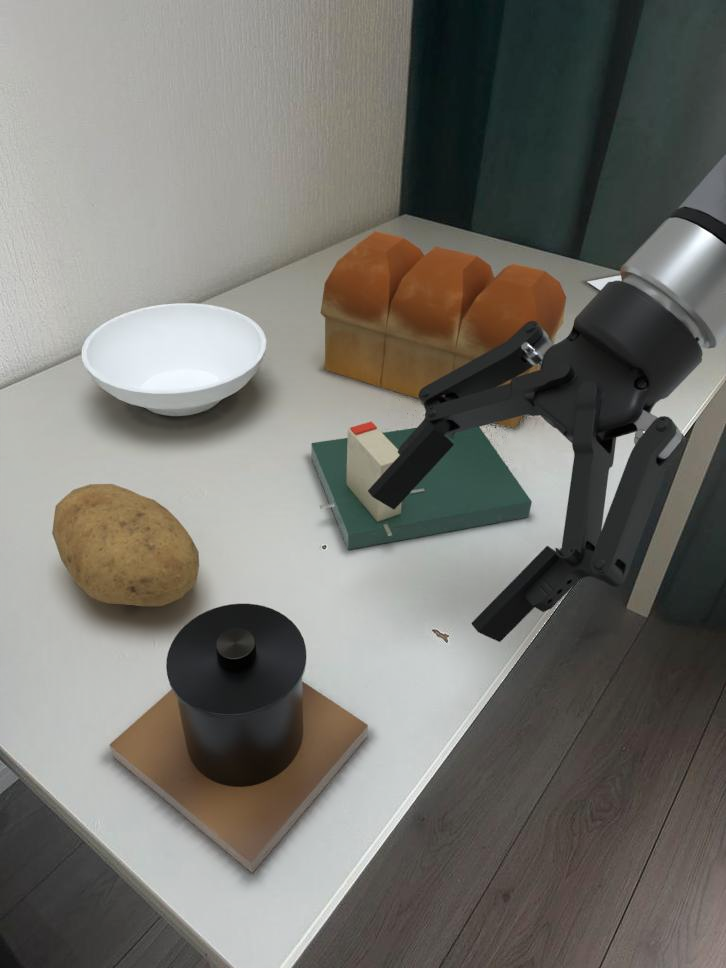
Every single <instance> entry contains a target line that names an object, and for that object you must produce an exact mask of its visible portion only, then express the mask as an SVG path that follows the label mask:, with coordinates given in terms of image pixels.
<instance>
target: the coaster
mask: <svg viewBox="0 0 726 968" xmlns="http://www.w3.org/2000/svg"><path fill="white" fill-rule="evenodd" d="M616 280H617V281H622V279H621V274H620V275H614V276H609V277H603V278H599V279H598V278H597V279H593V280H588V281H586V282H587V283H588V284H589V285H591V286H593V287H594V288H596V289H597V290H598V291H600V290H601V289H602V288H603V287H604V286H605V285H606V284H607V283H608V282H613V281H616Z"/></svg>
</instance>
